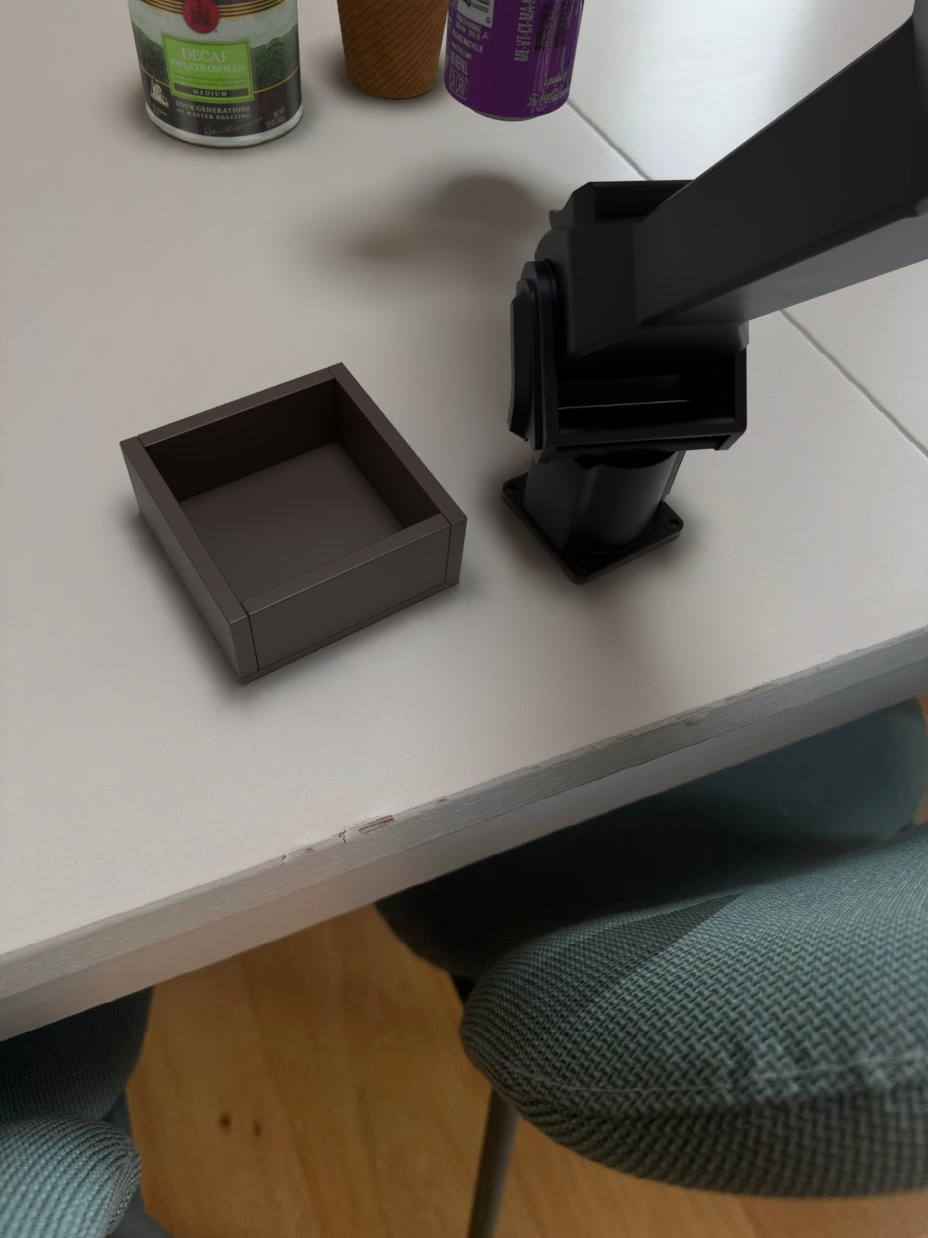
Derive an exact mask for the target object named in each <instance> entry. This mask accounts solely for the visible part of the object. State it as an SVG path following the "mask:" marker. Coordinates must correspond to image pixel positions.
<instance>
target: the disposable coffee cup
mask: <svg viewBox="0 0 928 1238" xmlns="http://www.w3.org/2000/svg"><path fill="white" fill-rule="evenodd" d="M448 3H449V0H336V5H337V13H338V21H339V27H340V28H339V29H340V36H341V44H342V50H343V59H344V65H345V74H346V78H347V79H348V81H349V83H351V84H352V85H353V86H354V87H355V88H356V89H358V90H360V91H362V92H364V93H367V94H369V95H372V96H375V97H381V98H389V99H403V98H411V97H412V98H413V97H415V96H420V95H422V94H425V93H426V92H427V91H429V90H431V88H433V86H434V85H435V83H436V80H437V73H438V69H439V62H440V57H441V52H442V47H443V46H442V45H443V41H444V34H445V28H446V25H447V20H448Z"/></svg>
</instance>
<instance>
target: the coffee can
mask: <svg viewBox="0 0 928 1238" xmlns="http://www.w3.org/2000/svg"><path fill="white" fill-rule="evenodd" d="M126 1H127V7H128V12H129V13H128V14H129V18H130V25H131V29H132V34H133V39H134V46H135V50H136V55H137V62H138V68H139V72H140V76H141V83H142V88H143V93H144V98H145V102H144V103H145V104H144V105H145V110H146V114H147V115H148V118H149V119H150V120H151V121H152V122H153V123H154V125H155V126H157V127H158V128H159V129H160V130H162V132H164V133H165V134H167V135H169V136H172V137H174V138H176V139H178V140H180V141H184V142H187V143H190V144H194V145H199V146H204V147H209V148H210V147H212V148H243V147H250V146H254V145H259V144H264V143H267V142H269V141H272V140H275V139H277V138H279V137H281V136H283V135H285V134H286V133H288V132H289V131H291V130H292V129H293V128H295V127H296V126H297V124H298V123H299V122H300V120H301V118H302V117H303V113H304V110H305V109H304V108H305V107H304V106H305V105H304V100H303V91H302V71H301V53H300V33H299V31H300V30H299V11H298V0H126Z"/></svg>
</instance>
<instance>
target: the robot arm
mask: <svg viewBox="0 0 928 1238" xmlns="http://www.w3.org/2000/svg"><path fill="white" fill-rule="evenodd" d="M548 222H549V225H550V229H549V230H548V231H546V232H545V233H544V234H543V236H542V237H541V238H540V240H539V242H538V244H537V246H536V248H535V252H534V256H533V259H534V260H527V261H526V262H525V263H524V265H523V266H522V270H521V273H520V279H519V280H518V281H516V284H515V296H514V297H513V298H512V300H511V301H510V303H509V330H510V332H509V334H510V335H509V336H510V337H509V338H510V339H509V341H510V344H509V345H510V398H509V404H508V410H507V416H506V424H507V427H508V432H510V433H511V434H514V435H515V436H517V437H518V438H521V439H522V440H523V442H528V443H529V446H530V450H531V458H530V463H529V469H528V471H527V472H524V473H522V474H519V475H518V476H515V477H513V478H510V479H509V480H506V481H505V482H503V484H502V487H501V496H502V498H503V499H504V501H505V502H506V503H507V504H508V505H509V507H511V509H512V510H513V511H514V513H515V514H516V515H517V516H518V517H519V519H521V521H522V522H523V523H524V525H526V527H527V528H528V529H529V530H530V532H532V534H533V535H534V536H535V537H536V538H537V540H538V542H540V543H541V544H542V546H543V547H544V548H545V550H546V551H548V553H549V554H550V555H551V556H552V558H553V559H554V560H555V561H556V562H557V563H558V565H559V566H560V567H561V568H562V569H563V571H564V572H565V573H566V574H567V576H568V577H569V578H570V579H571V580H572V581H574V582H575V583H579V584H580V583H581V584H583V583H584V584H585V583H586V582H589V581H591V580H594V578H596V577H599V576H601V575H603V574H604V573H607V572H608V571H610V570H613V569H614V568H617V567H618V566H621V565H622V564H625V563H626V562H629V561H631V560H633V559H634V558H636V557H638V556H640V555H642V554H645V553H646V552H648V551H650V550H652V549H654V548H656V547H658V546H660V545H662V544H664V543H667V542H668V541H669V540H671V539H674V538H675V537H677V536H679V535H680V534H681V533H682V531H683V529H684V526H685V525H684V521H683V518H681V517H680V516H679V514H677V513H676V511H675V510H674V509H673V508H671V506H670V505H669V504H668V503H667V502H666V501H665V500H666V498H667V497H668V496H669V495H670V493H671V490H672V488H673V487H674V486H673V485H674V483H675V480H676V478H677V475H678V472H679V470H680V468H681V465H682V464H683V463H682V462H683V460H684V457H685V456H686V453H687V452H688V451H699V450H700V451H701V450H714V451H716V452H718V451H719V452H720V451H729V450H730V449H731V447H733V446H734V444H735V443H737V441H738V440H740V438H741V437H742V436H743V435H744V434H745V433H746V431H747V429H748V353H747V351H748V350H747V349H748V347H747V346H748V345H749V344H750V321H752V320H756V319H758V318H761V317H764V316H767V315H770V314H772V313H776V312H778V311H781V310H785V309H787V308H790V307H793V306H795V305H798V304H802V303H804V302H805V303H806V302H808V301H810V300H813V299H816V298H819V297H823V296H825V295H827V294H831V293H833V292H836V291H839V290H843V289H845V288H848V287H851V286H853V285H856V284H860V283H862V282H866V281H868V280H872V279H875V278H877V277H881V276H883V275H885V274H889V273H892V272H895V271H897V270H900V269H903V268H906V267H908V266H909V267H910V266H912V265H915V264H917V263H920V262H923V261H926V260H928V0H914V2H913V8H912V12H911V15H910V16H909V17H907V19H906V20H905V21H904V22H903V23H901V24H900V25H899V26H898V27H897V28H896V29H894V30H893V31H892V32H890V33H889V34H887V35H886V36H885V37H883V38H882V39H881V40H879V41H878V42H877V43H875V44H874V45H873V46H871V47H870V48H869V49H867V50H866V51H864V52H863V53H862V54H861V55H859V56H858V57H856V58H855V59H854V60H852V61H850V63H849V64H847V65H846V66H844V67H843V68H841V70H839V71H838V72H836V73H835V74H834V75H832V76H831V77H829V78H828V79H827V80H825V81H824V82H823V83H821V84H820V85H819V86H817V87H816V88H815V89H814V90H812V91H811V92H809V93H808V94H806V95H805V96H804V97H803V98H801V99H800V100H799V101H797V102H796V103H795V104H793V105H792V106H791V107H789V108H788V109H786V110H785V111H783V113H781V114H779V116H777V117H775V118H774V119H773V120H772V121H771V122H769V123H768V124H766V125H765V126H764V127H762V128H761V129H760V130H759V131H756V133H754V134H753V135H752V136H750V137H749V138H748V139H746V140H745V141H743V142H742V143H741V144H739V145H738V146H737V147H735V148H734V149H733V150H732V151H730V152H729V153H727V154H726V155H725V156H723V157H722V158H720V159H719V160H718V161H717V162H715V163H713V164H712V165H711V166H710V167H708V169H706V170H704V171H703V172H702V173H700V174H699V175H697V176H696V177H695V178H693V179H654V180H651V179H649V180H647V179H645V180H605V181H603V180H602V181H587V182H586V183H584V184H582V185H580V186H579V187H577V188H576V189H574V190H573V191H572V192H571V194H570V196H569V197H568V199H567V200H566V202H565V204H564V206H563V207H562V208H561V209H550V210H549V211H548ZM672 525H673V526H672ZM578 570H580V571H583V572H579V571H578Z"/></svg>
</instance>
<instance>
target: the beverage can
mask: <svg viewBox="0 0 928 1238" xmlns="http://www.w3.org/2000/svg"><path fill="white" fill-rule="evenodd" d="M584 6H585V0H449V3H448V13H447V19H446V36H445V37H446V38H445V53H444V54H445V55H444V69H443V84H444V87H445V90H446V91H447V93H448V94H449V96H451V97H452V98H453V100H455V101H456V102H458V103H459V104H461V105H463V106H464V107H466V108H468V109H469V110H471V111H473V112H474V113H476V114H478V115H480V116H482V117H484V118H488V119H491V120H494V121H500V122H510V123H511V122H513V123H514V122H515V123H516V122H525V121H529V120H533V119H536V118H538V117H542V116H546V115H549V114H552V113H554V112H556V111H558V110H559V109H560V108H562V107H563V106H564V105H565V104H566V103H567V101H568V99H569V96H570V91H571V85H572V78H573V73H574V67H575V61H576V54H577V49H578V43H579V42H578V41H579V37H580V30H581V26H582V19H583V12H584Z"/></svg>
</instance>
